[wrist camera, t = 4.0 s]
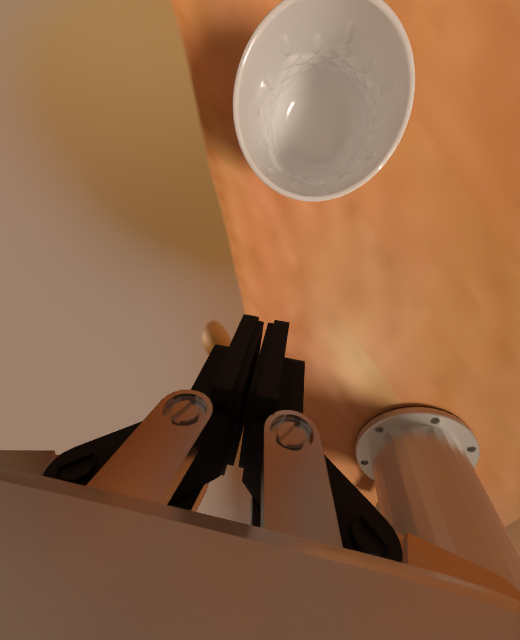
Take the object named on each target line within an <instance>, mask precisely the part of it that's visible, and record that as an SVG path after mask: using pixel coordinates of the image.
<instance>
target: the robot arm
mask: <svg viewBox="0 0 520 640" xmlns="http://www.w3.org/2000/svg"><path fill="white" fill-rule="evenodd" d="M263 325H264V322H262V321H259V317H256V316H251V315H245V314H244V315H243V317H242V320H241V322H240V324H239V326H238V328H237V331H236V333H235V335H234V337H233V339H232V342H231V344H230V346H229V347H227V346H222V345H217V344H216V345H215V346H214V347H213V349H212V351H211V353H210V355H209V357H208V359H207V361H206V362H205V364H204V366H203V368H202V370H201V372H200V373H199V375H198V377H197V379H196V381H195V383H194V385H193V387H192V388H191V390H180V391H176V392H173V393H171V394H169V395H167V396H166V397H165V398H163V399H162V400H161V401H160V402H159V403H158V405H157V406H156V407H155V408H154V409H153V410H152V411H151V413H150V414H149V415H148V416H147V417H146V418H145V419H144V420H143V421H142V422H139V423H137V424H134V425H132V426H129V427H126V428H124V429H121V430H118V431H116V432H113V433H110V434H108V435H105V436H103V437H100V438H97V439H95V440H92V441H89V442H87V443H84V444H82V445H79V446H77V447H74V448H72V449H70V450H68V451H66V452H64V453H62V454H61V455H56V454H55V451H31V450H29V451H28V450H26V451H25V450H23V451H19V450H0V640H520V556H519V555H518V552H517V550H516V549H515V547H514V544H513V543H512V541H511V539H510V537H509V535H508V533H507V531H506V529H505V527H504V525H503V523H502V522H501V520H500V518H499V516H498V514H497V512H496V510H495V508H494V506H493V504H492V502H491V500H490V499H489V497H488V495H487V493H486V491H485V489H484V487H483V485H482V483H481V481H480V479H479V478H478V476H477V474H476V472H475V470H474V468H475V466H476V464H477V462H478V460H479V455H480V449H479V444H478V441H477V439H476V437H475V435H474V434H473V432H472V431H471V429H470V428H469V427H468V426H467V425H466V424H465V423H464V422H463V421H462V420H460V419H459V418H457V417H456V416H454V415H452V414H450V413H447V412H445V411H441V410H437V409H433V408H425V407H407V408H401V409H395V410H392V411H389V412H386V413H383V414H381V415H379V416H377V417H375V418H374V419H372V420H371V421H370V422H368V423H367V424H366V425H365V426H364V427H363V428H362V429H361V431H360V433H359V434H358V436H357V439H356V443H355V453H356V458H357V462H358V464H359V466H360V468H361V470H362V471H363V472H364V473H365V474H366V475H367V476H368V477H369V478H370V479H372V480H373V481H375V486H376V492H377V497H378V503H377V504H376V506H375V507H374V506H373V505H372V504H371V503H370V502H369V501H368V500H367V499H366V498H365V497H364V496H363V495H362V494H361V492H360V491H359V490H358V489H357V488H356V487H355V486H354V485H353V484H352V483H351V482H350V481H349V480H348V479H347V478H346V477H345V476H344V475H343V474H342V473H341V472H340V471H339V470H338V469H337V467H336V466H335V465H334V464H333V463H332V462H331V461H330V460H329V459H328V458H327V457H326V456H325V455H324V452H323V447H322V442H321V438H320V433H319V431H318V428H317V426H316V425H315V423H314V422H313V421H312V420H311V419H310V418H308V417H307V416H306V415H304V414H303V395H304V372H305V362H304V361H300V360H295V359H290V358H285V357H284V356H285V349H286V342H287V336H288V329H289V322H284V321H278V320H275V321H274V324H273V323H268V325H267V329H266V332H265V336H264V340H263V343H262V347H261V350H260V346H261V339H262V332H263ZM259 353H260V354H259ZM243 428H244V431H243ZM242 432H243V438H242V446H241V453H240V460H239V467H241V468H244V471H243V479H242V481H243V483H244V484H245V486H246V488H247V489H248V490H249V492H250V494H251V495H252V498H251V508H250V509H251V510H250V525H248V524H243V523H239V522H235V521H231V520H227V519H223V518H218V517H214V516H210V515H206V514H202V513H198V512H196V511H197V509H198V507H199V505H200V503H201V501H202V499H203V497H204V495H205V493H206V490H207V487H208V483H209V482H210V481H212V480H214V479H216V478H217V477H219V476H220V475H224V474H225V470H226V467H227V464H228V465H232V466H233V465H234V462H235V458H236V454H237V451H238V447H239V442H240V439H241V435H242Z"/></svg>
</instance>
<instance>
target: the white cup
mask: <svg viewBox="0 0 520 640" xmlns="http://www.w3.org/2000/svg"><path fill="white" fill-rule="evenodd" d="M414 91H415V67H414V59H413V54H412V49H411V45H410V42H409V39H408V36H407V34H406V32H405V29H404V27H403V25H402V24H401V22H400V20H399V19H398V17H397V16H396V14H395V13H394V12H393V10H392V9H391V8H390V7H389V6H388V5H387V4H386V3H385V2H384V1H383V0H283V1H282V2H280V3H279V4H278V5H277V6H276V7H274V8H273V9H272V10H271V11H270V12H269V13H268V14H267V16H266V17H265V18H264V19H263V20H262V21H261V23H260V24H259V25H258V27H257V28H256V30H255V31H254V33H253V34H252V36H251V38H250V40H249V41H248V43H247V45H246V48H245V50H244V52H243V55H242V57H241V60H240V63H239V66H238V70H237V74H236V78H235V84H234V91H233V119H234V126H235V131H236V135H237V139H238V142H239V145H240V148H241V150H242V152H243V155H244V157H245V159H246V160H247V162H248V164H249V165H250V167H251V168H252V170H253V171H254V172H255V174H256V175H257V176H258V177H259V178H260V179H261V180H262V181H263V182H264V183H265V184H266V185H268V186H269V187H270V188H272V189H273V190H275V191H276V192H278V193H280V194H282V195H284V196H286V197H289V198H292V199H296V200H301V201H312V202H314V201H325V200H331V199H334V198H338V197H341V196H343V195H346V194H348V193H350V192H352V191H354V190H355V189H357V188H359V187H360V186H362V185H363V184H365V183H366V182H367V181H368V180H370V179H371V178H372V177H373V176H374V175H375V174H376V173H377V172H378V171H379V170H380V169H381V168H382V167H383V166H384V165H385V163H386V162H387V161H388V159H389V158H390V157H391V155H392V154H393V152H394V151H395V149H396V147H397V146H398V144H399V142H400V140H401V138H402V136H403V134H404V131H405V129H406V126H407V123H408V120H409V117H410V113H411V109H412V105H413V99H414Z"/></svg>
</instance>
